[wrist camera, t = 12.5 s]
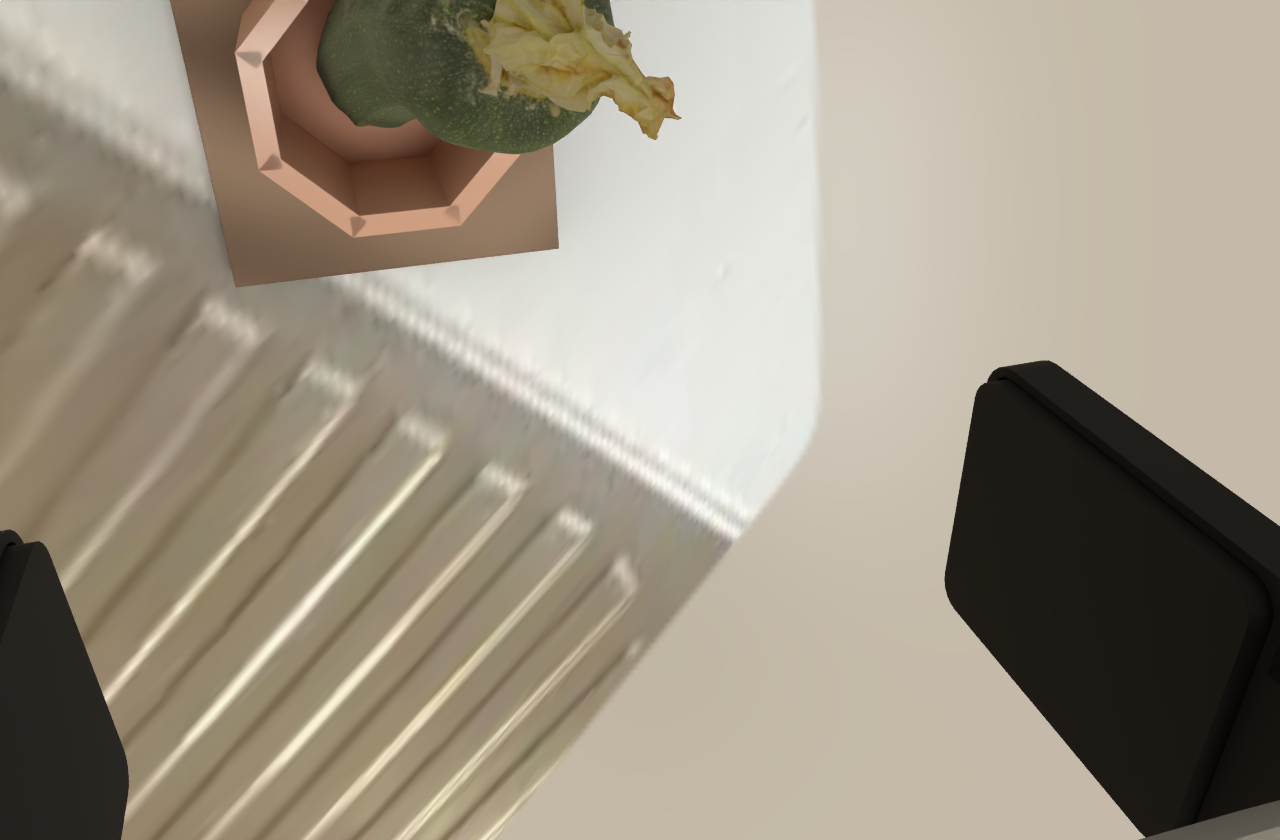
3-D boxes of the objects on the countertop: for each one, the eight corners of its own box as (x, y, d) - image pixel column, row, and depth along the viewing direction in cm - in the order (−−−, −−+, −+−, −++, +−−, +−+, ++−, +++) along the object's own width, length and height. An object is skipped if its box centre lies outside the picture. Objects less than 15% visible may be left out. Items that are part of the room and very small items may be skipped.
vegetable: (278, -1, 30) (425, -137, 13) (419, -35, 32) (731, -202, 14) (330, 151, 32) (524, 215, 14) (463, 113, 33) (790, 130, 16)
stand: (130, -202, 29) (124, -202, 28) (522, -208, 32) (532, -208, 30) (237, 271, 36) (235, 287, 35) (550, 234, 39) (558, 248, 38)
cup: (227, -65, 30) (215, -40, 25) (478, -76, 32) (514, -55, 27) (275, 181, 34) (274, 246, 29) (498, 159, 35) (533, 217, 30)
